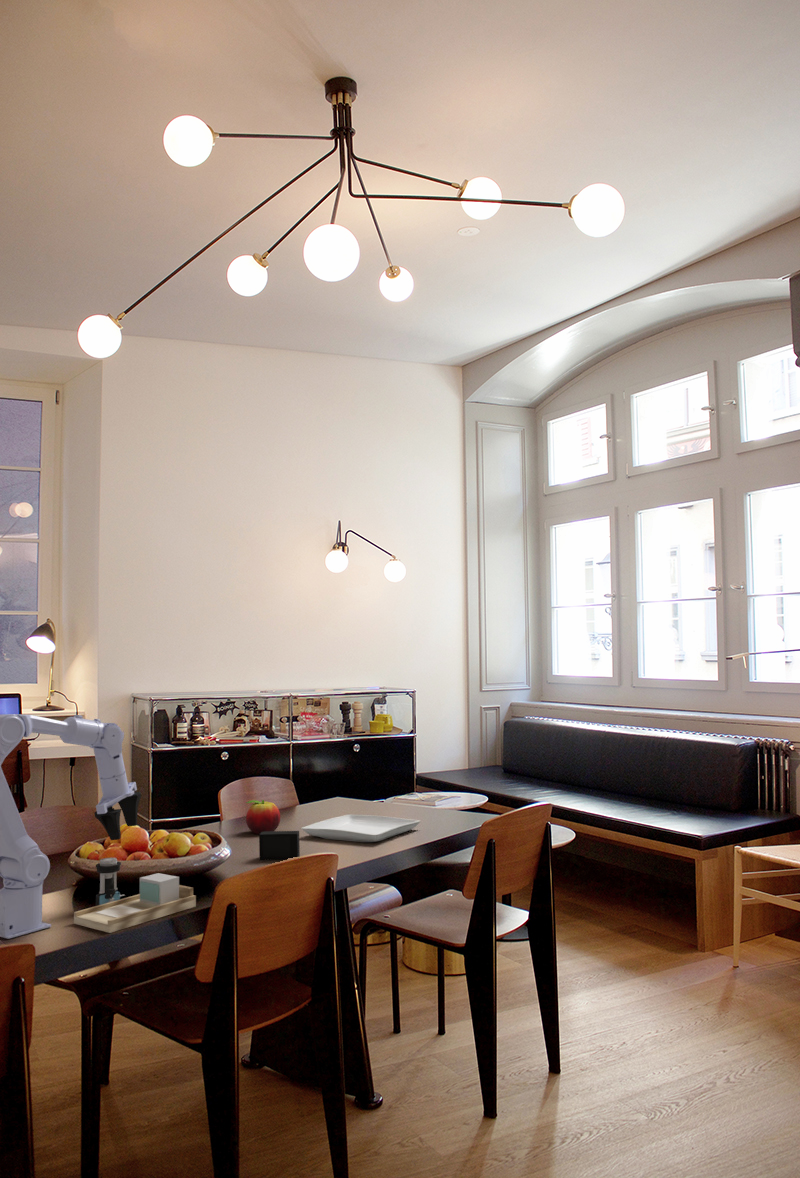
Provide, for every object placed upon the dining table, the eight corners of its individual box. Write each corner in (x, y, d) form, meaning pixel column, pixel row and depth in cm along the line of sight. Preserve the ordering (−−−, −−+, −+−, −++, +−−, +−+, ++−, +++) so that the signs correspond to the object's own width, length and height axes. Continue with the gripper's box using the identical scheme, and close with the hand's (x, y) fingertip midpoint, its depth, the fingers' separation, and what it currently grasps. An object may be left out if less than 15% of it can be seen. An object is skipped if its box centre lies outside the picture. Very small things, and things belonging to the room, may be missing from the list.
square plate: (376, 847, 251) (376, 833, 251) (299, 839, 264) (298, 826, 264) (422, 830, 274) (421, 818, 274) (348, 824, 288) (348, 812, 288)
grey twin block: (159, 906, 187) (159, 882, 188) (138, 901, 191) (138, 878, 192) (179, 900, 192) (179, 876, 192) (158, 896, 196) (158, 873, 196)
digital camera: (300, 855, 241) (300, 829, 242) (298, 859, 236) (297, 833, 236) (262, 856, 241) (262, 830, 242) (259, 860, 236) (259, 834, 236)
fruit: (277, 835, 270) (277, 802, 271) (242, 836, 270) (242, 802, 271) (283, 828, 281) (282, 796, 282) (249, 829, 281) (249, 797, 282)
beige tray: (110, 932, 174) (110, 912, 174) (73, 923, 181) (74, 904, 181) (195, 906, 192) (195, 888, 192) (159, 898, 199) (159, 881, 199)
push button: (117, 899, 199) (118, 854, 200) (131, 903, 196) (131, 857, 196) (90, 906, 194) (91, 860, 195) (103, 910, 191) (103, 863, 191)
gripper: (112, 784, 190) (124, 844, 191) (143, 762, 204) (154, 818, 205) (82, 787, 191) (95, 846, 192) (116, 765, 205) (127, 820, 207)
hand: (124, 832), depth 199 cm, fingers open, 7 cm apart
